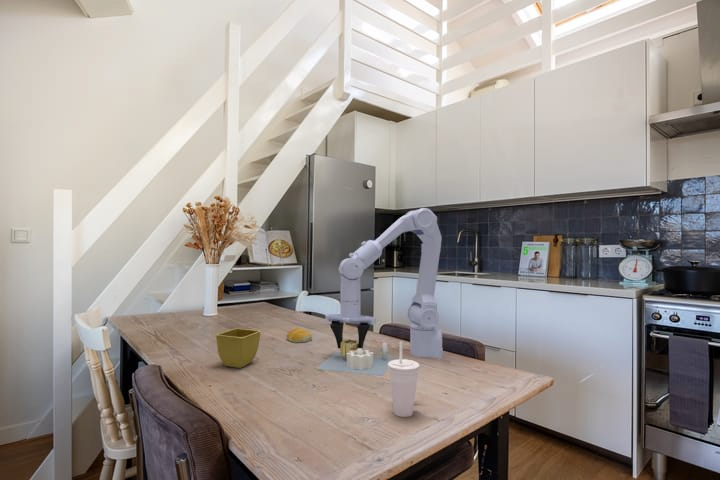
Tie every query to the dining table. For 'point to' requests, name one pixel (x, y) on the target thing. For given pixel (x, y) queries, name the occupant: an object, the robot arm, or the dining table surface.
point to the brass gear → (348, 346)
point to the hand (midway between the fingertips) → (350, 348)
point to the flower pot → (238, 346)
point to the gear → (360, 360)
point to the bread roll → (299, 336)
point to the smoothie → (403, 384)
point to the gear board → (340, 364)
